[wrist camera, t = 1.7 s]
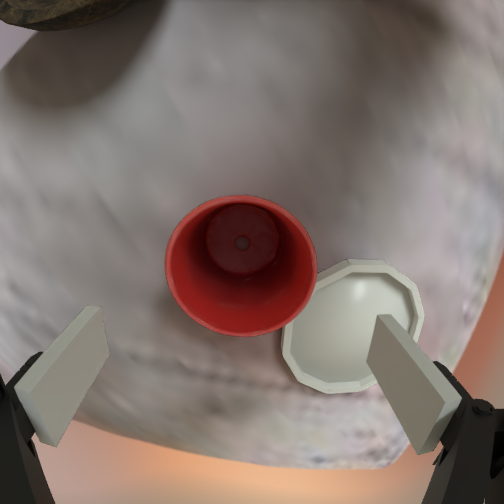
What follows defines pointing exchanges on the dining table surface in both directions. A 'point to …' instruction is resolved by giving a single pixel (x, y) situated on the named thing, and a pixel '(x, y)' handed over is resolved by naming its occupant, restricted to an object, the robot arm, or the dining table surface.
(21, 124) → the dining table surface
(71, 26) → the bowl
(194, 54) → the dining table surface
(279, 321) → the flower pot
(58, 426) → the robot arm
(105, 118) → the dining table surface
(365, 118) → the dining table surface
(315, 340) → the saucer
